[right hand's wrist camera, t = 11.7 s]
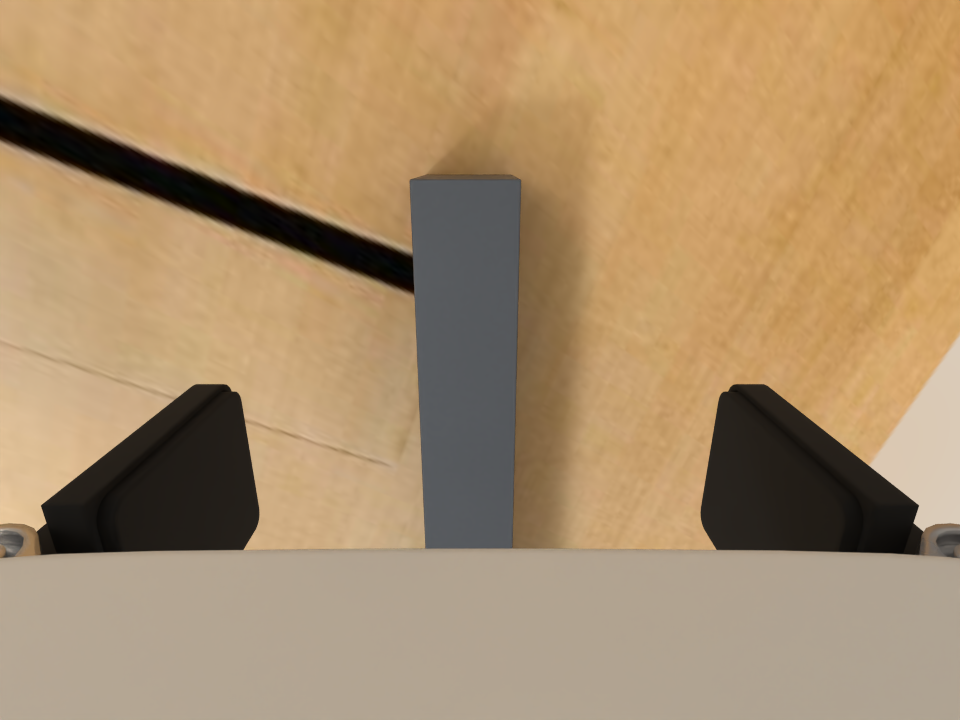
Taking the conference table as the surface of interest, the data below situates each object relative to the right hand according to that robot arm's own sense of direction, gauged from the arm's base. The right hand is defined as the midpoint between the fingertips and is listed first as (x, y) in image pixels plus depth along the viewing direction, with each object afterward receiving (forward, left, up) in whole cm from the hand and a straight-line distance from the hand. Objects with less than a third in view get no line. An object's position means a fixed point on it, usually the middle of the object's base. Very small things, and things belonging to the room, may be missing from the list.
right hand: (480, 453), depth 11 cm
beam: (+30, -1, -26) cm, 40 cm away
